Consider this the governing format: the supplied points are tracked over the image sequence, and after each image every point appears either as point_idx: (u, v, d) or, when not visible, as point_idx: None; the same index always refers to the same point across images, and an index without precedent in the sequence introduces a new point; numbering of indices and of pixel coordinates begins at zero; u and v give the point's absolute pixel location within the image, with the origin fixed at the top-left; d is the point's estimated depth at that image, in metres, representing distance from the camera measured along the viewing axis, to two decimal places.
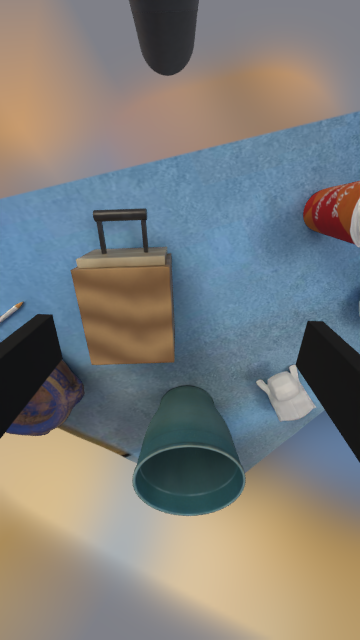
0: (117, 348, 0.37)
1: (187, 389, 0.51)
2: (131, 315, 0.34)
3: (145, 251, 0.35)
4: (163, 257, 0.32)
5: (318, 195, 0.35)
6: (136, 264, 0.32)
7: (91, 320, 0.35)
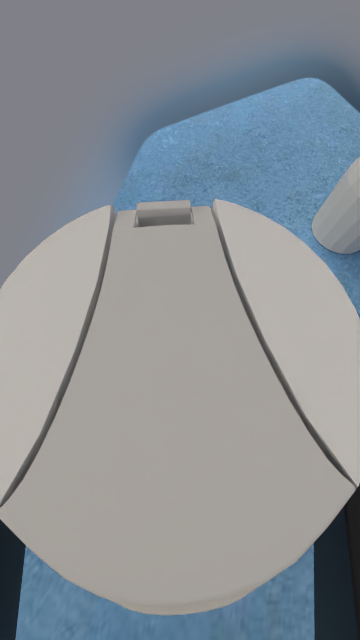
0: None
1: None
2: None
3: None
4: None
5: None
6: None
7: None
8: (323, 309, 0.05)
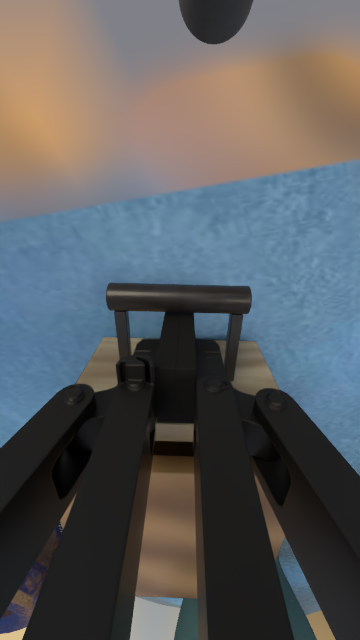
0: (142, 579, 0.17)
1: None
2: (185, 543, 0.15)
3: None
4: None
5: None
6: None
7: None
8: None
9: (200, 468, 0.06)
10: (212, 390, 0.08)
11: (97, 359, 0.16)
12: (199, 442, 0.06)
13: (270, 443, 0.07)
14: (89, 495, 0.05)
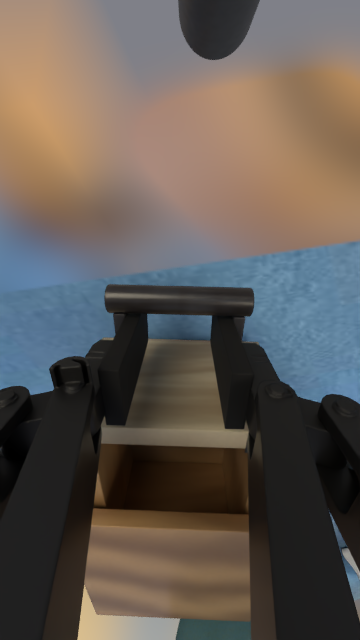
0: (146, 604, 0.19)
1: None
2: (183, 579, 0.17)
3: None
4: None
5: None
6: (217, 444, 0.12)
7: (100, 578, 0.17)
8: None
9: (263, 471, 0.06)
10: (274, 396, 0.08)
11: None
12: (262, 446, 0.06)
13: (335, 450, 0.07)
14: (21, 503, 0.05)
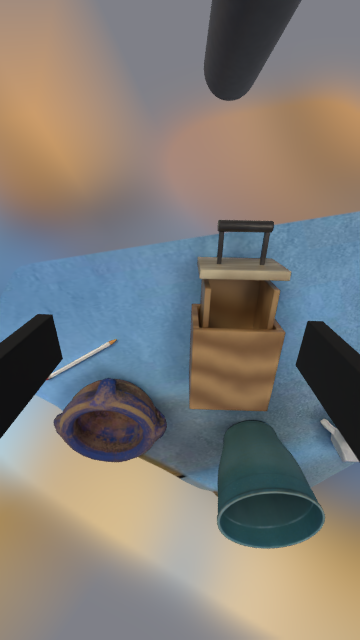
0: (217, 396, 0.39)
1: (255, 424, 0.53)
2: (238, 370, 0.37)
3: (262, 264, 0.34)
4: (290, 273, 0.31)
5: None
6: (260, 278, 0.32)
7: (200, 372, 0.37)
8: None
9: None
10: None
11: (201, 261, 0.36)
12: None
13: None
14: None
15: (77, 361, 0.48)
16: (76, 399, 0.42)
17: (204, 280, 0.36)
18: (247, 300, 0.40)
